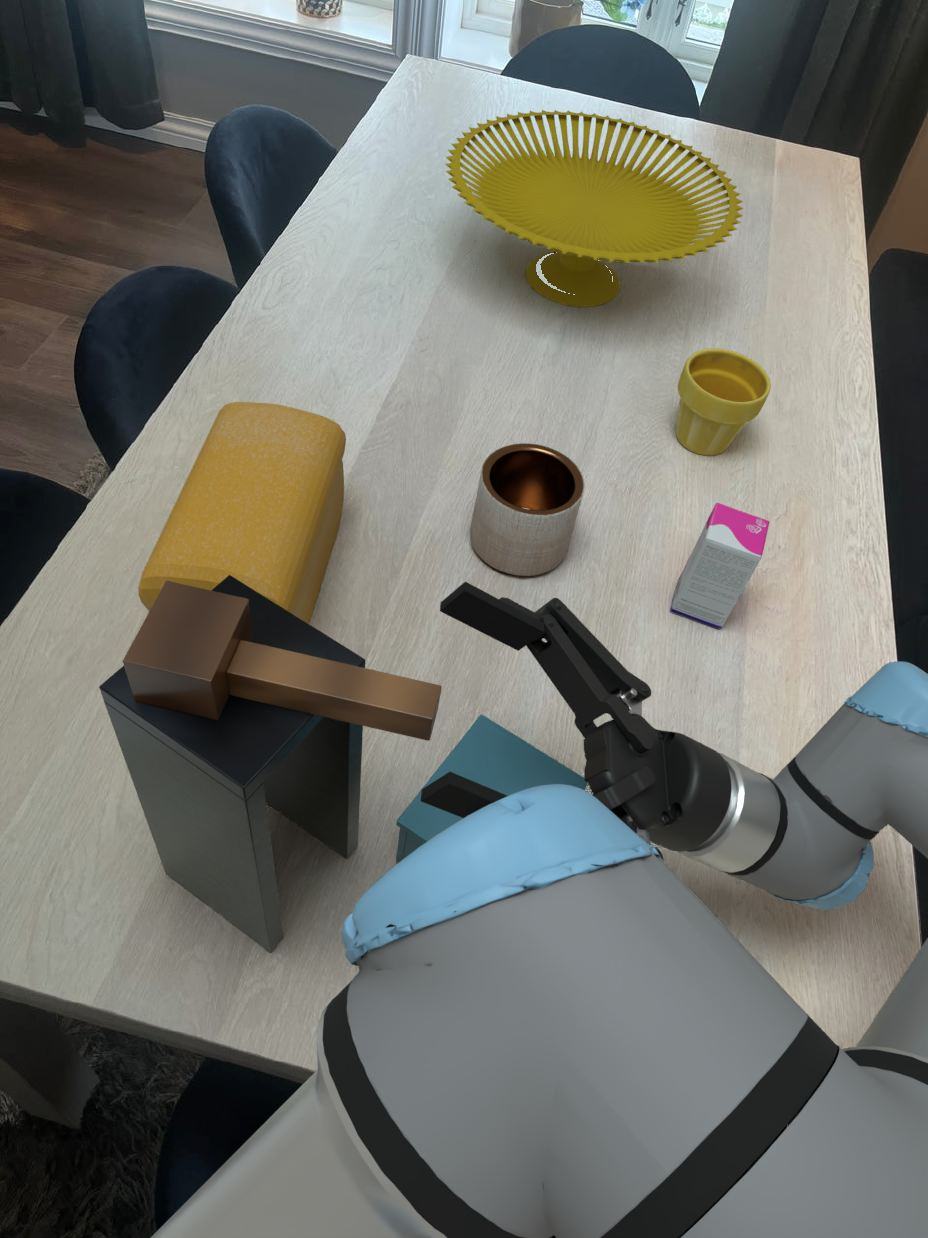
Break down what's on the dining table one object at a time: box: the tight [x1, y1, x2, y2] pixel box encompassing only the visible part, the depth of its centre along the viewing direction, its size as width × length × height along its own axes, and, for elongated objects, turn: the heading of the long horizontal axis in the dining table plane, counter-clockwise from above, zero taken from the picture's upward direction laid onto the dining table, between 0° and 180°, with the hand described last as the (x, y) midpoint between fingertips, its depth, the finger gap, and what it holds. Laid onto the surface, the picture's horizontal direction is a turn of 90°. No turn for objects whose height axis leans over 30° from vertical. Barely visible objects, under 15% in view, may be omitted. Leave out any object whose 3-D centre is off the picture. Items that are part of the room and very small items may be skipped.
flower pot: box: [675, 347, 772, 456], centre depth 112 cm, size 10×10×10 cm
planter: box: [469, 442, 585, 577], centre depth 98 cm, size 11×11×10 cm
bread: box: [137, 401, 347, 625], centre depth 88 cm, size 24×13×15 cm, turn 172°
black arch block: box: [98, 575, 366, 954], centre depth 66 cm, size 11×11×27 cm
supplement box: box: [669, 502, 770, 630], centre depth 94 cm, size 6×6×12 cm
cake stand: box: [445, 109, 744, 308], centre depth 129 cm, size 40×40×15 cm
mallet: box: [122, 581, 442, 742], centre depth 53 cm, size 17×6×4 cm, turn 79°
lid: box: [395, 713, 589, 843], centre depth 73 cm, size 12×10×1 cm
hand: (443, 683), depth 55 cm, fingers open, 13 cm apart
